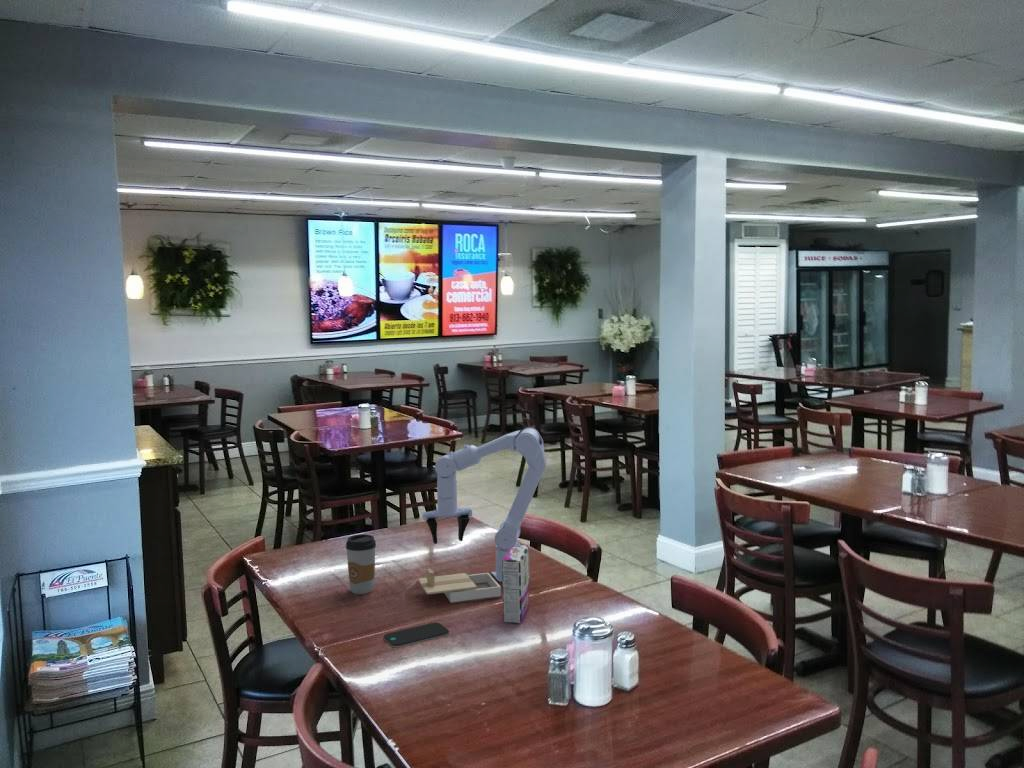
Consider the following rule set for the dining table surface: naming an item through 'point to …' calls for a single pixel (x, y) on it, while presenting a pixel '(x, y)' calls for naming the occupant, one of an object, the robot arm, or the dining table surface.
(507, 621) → the candy bar box
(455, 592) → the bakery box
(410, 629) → the smartphone
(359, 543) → the coffee cup
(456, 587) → the beige sliding box lid
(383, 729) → the dining table surface
